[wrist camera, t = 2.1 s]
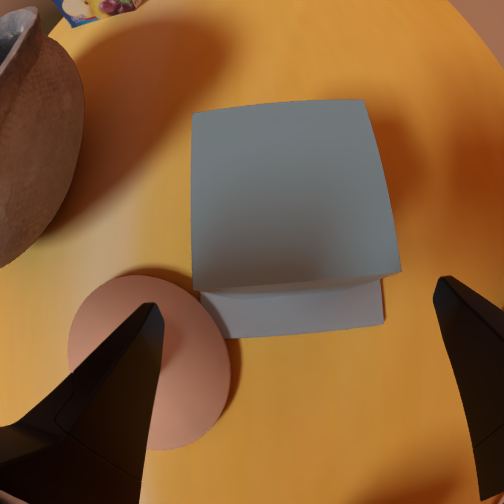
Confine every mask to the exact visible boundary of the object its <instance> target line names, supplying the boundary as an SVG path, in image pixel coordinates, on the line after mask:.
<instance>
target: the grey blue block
mask: <svg viewBox="0 0 504 504" xmlns="http://www.w3.org/2000/svg"><path fill="white" fill-rule="evenodd" d="M191 249H192V279H193V290H195V291H200V292H204V293H209V294H213V295H218V296H222V297H227V298H231V299H236V300H244V299H258V298H271V297H284V296H296V295H307V294H318V293H328V292H338V291H346V290H349V289H352V288H355V287H358V286H361V285H364V284H367V283H370V282H373V281H376V280H379V279H382V278H385V277H388V276H391V275H394V274H397V273H399V272H401V264H400V257H399V250H398V243H397V237H396V230H395V225H394V219H393V213H392V208H391V203H390V198H389V193H388V189H387V184H386V179H385V175H384V171H383V167H382V163H381V159H380V155H379V151H378V147H377V143H376V140H375V136H374V132H373V129H372V125H371V122H370V119H369V116H368V112H367V109H366V106H365V103H364V100H309V101H291V102H278V103H266V104H256V105H247V106H239V107H231V108H224V109H217V110H211V111H204V112H198V113H193V114H192V138H191Z"/></svg>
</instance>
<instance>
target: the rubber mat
mask: <svg viewBox="0 0 504 504" xmlns="http://www.w3.org/2000/svg"><path fill="white" fill-rule="evenodd" d="M200 301H201V304H202V305H203V306H204V308H205V309H206V310H207V311H208V313H209V314H210V315H211V316H212V318H213V320H214V321H215V323H216V324H217V326H218V328H219V330H220V332H221V334H222V336H223V339H231V338H251V337H268V336H282V335H294V334H305V333H316V332H326V331H335V330H343V329H352V328H360V327H367V326H374V325H381V324H384V318H383V305H382V294H381V284H380V279H379V280H376V281H373V282H370V283H367V284H364V285H361V286H358V287H355V288H352V289H349V290H346V291H338V292H328V293H318V294H307V295H296V296H284V297H271V298H258V299H244V300H236V299H231V298H227V297H222V296H218V295H213V294H209V293H204V292H200Z"/></svg>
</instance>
